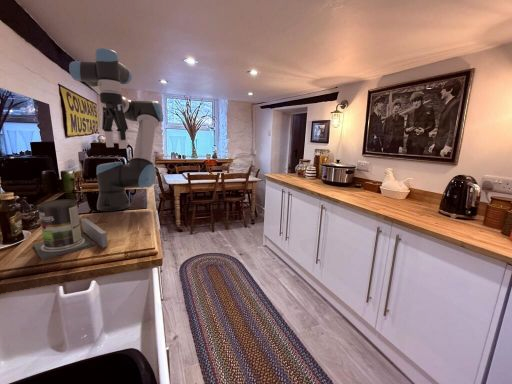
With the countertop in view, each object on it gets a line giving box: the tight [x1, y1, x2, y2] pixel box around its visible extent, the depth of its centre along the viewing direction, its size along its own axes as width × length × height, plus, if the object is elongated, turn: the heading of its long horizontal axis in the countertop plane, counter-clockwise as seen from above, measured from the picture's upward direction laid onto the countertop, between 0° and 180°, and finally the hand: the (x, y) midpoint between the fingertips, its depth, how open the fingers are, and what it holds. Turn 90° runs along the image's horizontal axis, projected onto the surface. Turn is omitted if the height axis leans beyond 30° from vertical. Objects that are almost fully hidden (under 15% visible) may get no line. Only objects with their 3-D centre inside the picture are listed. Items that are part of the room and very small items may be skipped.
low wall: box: [80, 217, 109, 249], centre depth 91 cm, size 22×2×5 cm, turn 49°
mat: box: [32, 232, 96, 261], centre depth 84 cm, size 14×14×1 cm
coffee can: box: [36, 198, 82, 250], centre depth 83 cm, size 10×10×14 cm
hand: (116, 147), depth 103 cm, fingers open, 13 cm apart
